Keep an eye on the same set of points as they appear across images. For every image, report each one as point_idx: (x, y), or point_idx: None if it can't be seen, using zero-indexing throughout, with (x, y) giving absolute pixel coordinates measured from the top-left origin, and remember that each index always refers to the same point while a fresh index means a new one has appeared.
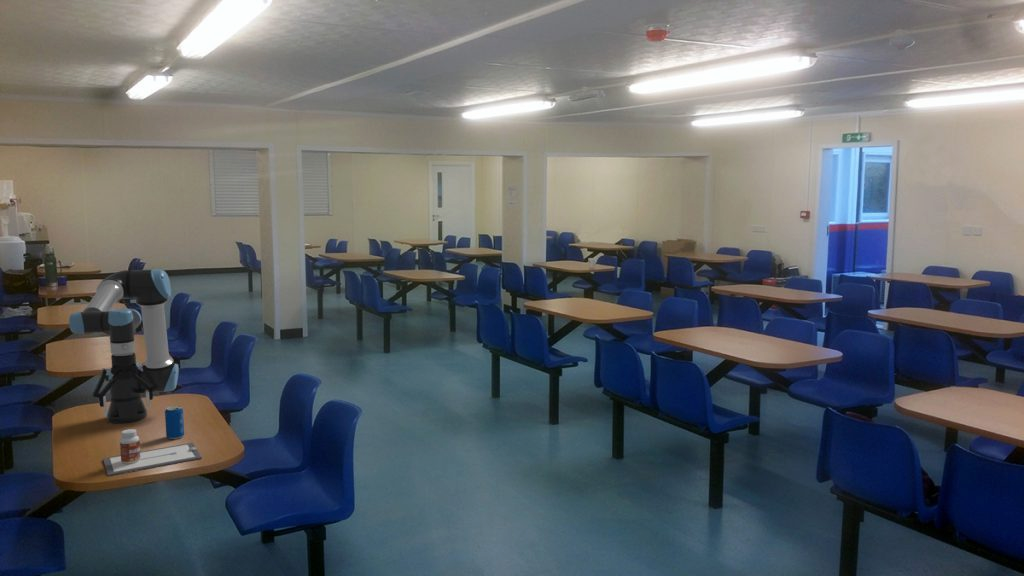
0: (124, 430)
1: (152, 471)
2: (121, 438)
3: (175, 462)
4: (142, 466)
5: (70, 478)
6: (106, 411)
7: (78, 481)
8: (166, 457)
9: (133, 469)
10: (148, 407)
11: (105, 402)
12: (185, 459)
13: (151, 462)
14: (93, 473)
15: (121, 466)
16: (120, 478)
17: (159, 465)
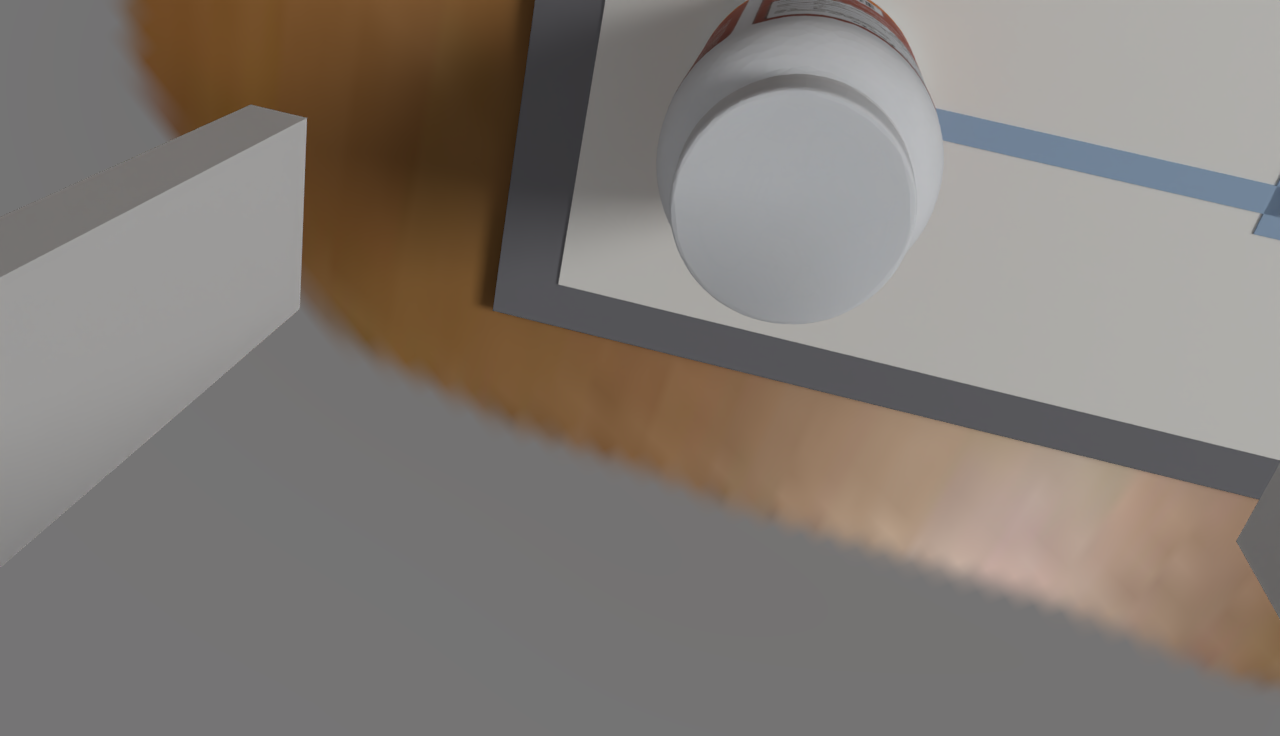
0: (746, 110)
1: (863, 485)
2: (681, 138)
3: (1142, 468)
4: (829, 350)
5: (189, 86)
6: (231, 357)
7: None
8: (1161, 277)
9: (730, 357)
10: (1274, 588)
11: (54, 496)
12: (1263, 481)
13: (955, 306)
14: (398, 110)
15: None
16: (575, 436)
17: (978, 426)
